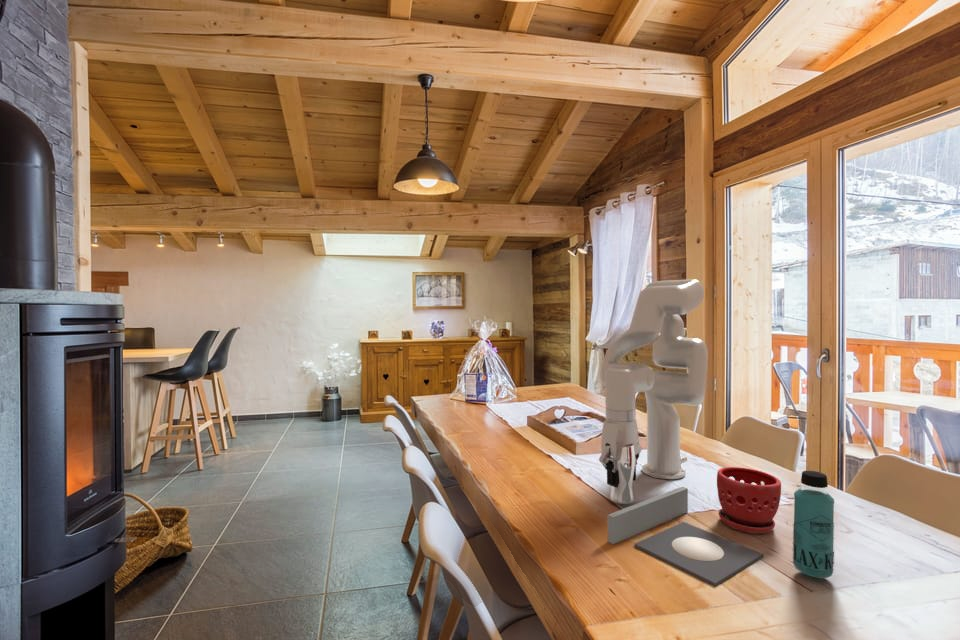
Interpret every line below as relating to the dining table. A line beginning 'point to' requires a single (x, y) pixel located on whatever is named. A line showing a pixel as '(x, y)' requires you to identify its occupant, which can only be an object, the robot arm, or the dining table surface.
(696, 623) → the dining table surface
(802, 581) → the dining table surface
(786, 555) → the dining table surface
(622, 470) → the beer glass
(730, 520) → the plant pot
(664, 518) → the low wall
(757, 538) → the dining table surface
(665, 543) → the dark gray mat
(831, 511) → the beverage bottle
